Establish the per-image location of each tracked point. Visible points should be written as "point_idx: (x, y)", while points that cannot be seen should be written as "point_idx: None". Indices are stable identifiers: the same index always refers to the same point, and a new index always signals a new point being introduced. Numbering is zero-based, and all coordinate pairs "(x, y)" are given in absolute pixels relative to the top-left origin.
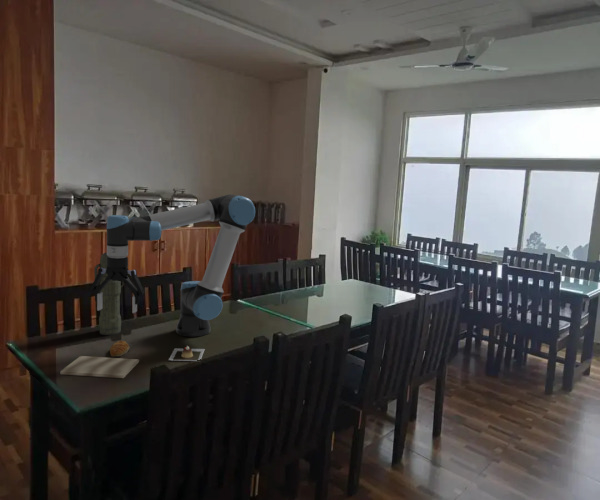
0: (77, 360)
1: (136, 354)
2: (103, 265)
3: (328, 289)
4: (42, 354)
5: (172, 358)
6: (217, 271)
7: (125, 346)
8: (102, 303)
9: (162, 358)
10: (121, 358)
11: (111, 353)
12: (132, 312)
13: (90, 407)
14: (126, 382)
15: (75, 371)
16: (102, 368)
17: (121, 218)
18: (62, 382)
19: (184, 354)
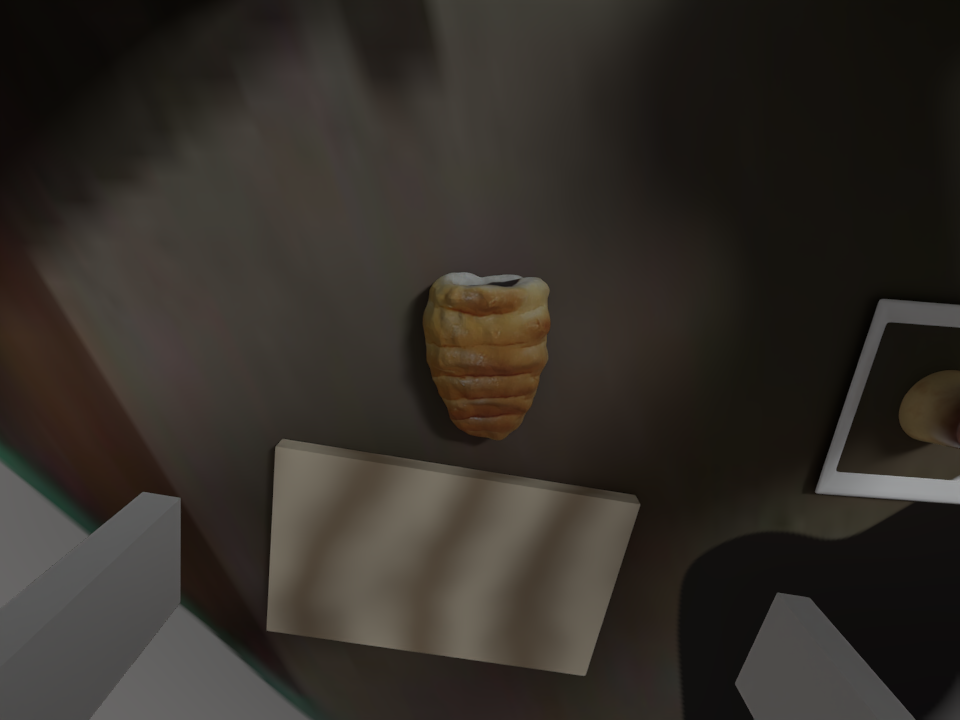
0: (288, 510)
1: (607, 381)
2: None
3: None
4: (18, 372)
5: (838, 453)
6: None
7: (536, 365)
8: (103, 571)
9: (775, 446)
10: (534, 489)
11: (456, 424)
12: (742, 692)
13: None
14: (602, 696)
15: (340, 634)
16: (462, 605)
17: None
18: (323, 687)
19: (934, 442)
